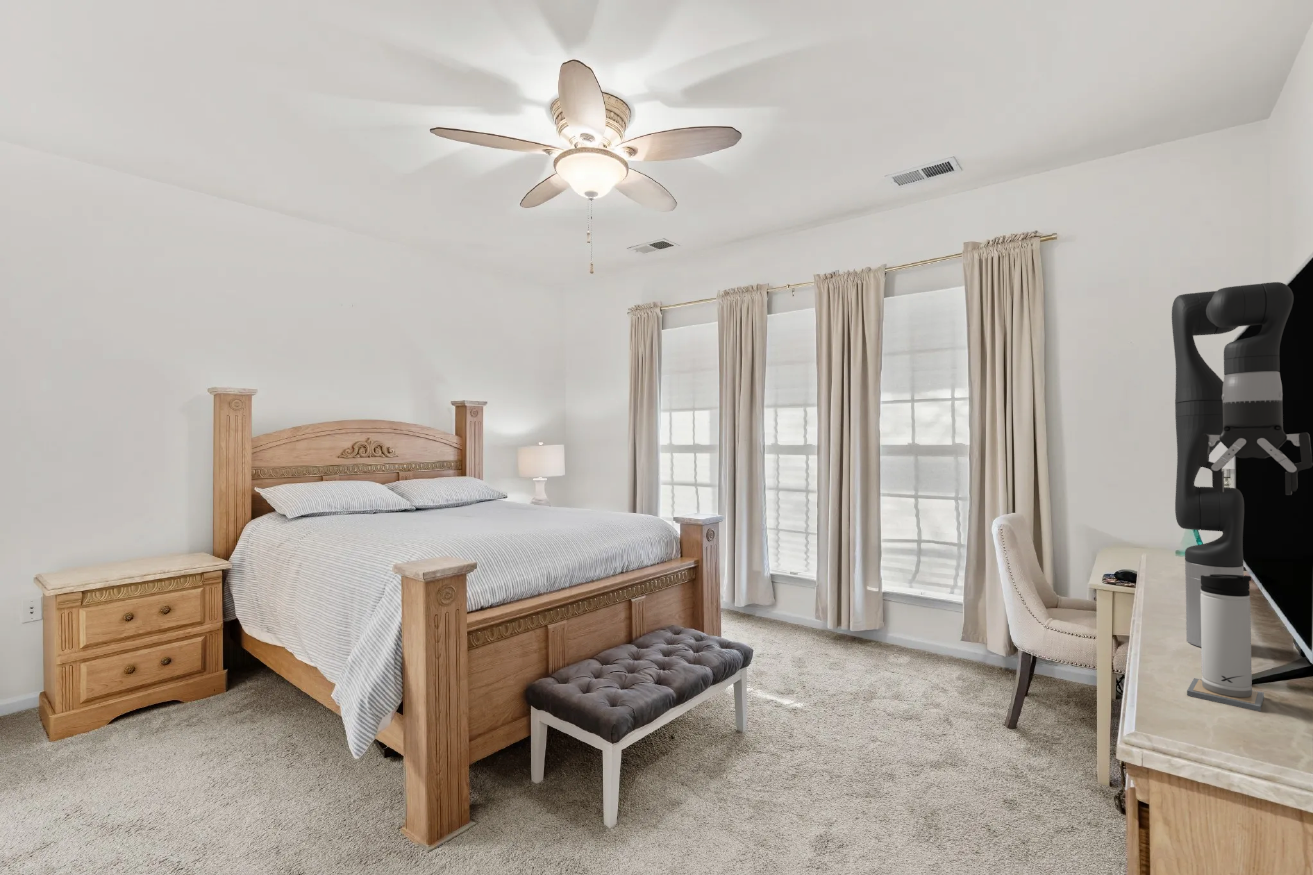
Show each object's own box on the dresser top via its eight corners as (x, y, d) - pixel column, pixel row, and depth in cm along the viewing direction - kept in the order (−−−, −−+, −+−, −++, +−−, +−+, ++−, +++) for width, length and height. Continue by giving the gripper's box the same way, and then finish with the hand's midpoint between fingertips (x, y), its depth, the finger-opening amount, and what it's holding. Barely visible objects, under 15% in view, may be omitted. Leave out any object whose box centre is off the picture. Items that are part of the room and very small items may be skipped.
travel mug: (1236, 700, 102) (1234, 578, 102) (1192, 685, 108) (1190, 570, 109) (1264, 696, 104) (1262, 575, 104) (1219, 681, 110) (1217, 567, 110)
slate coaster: (1194, 682, 112) (1194, 677, 112) (1264, 697, 106) (1263, 691, 106) (1187, 695, 107) (1186, 689, 107) (1260, 711, 100) (1260, 705, 100)
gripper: (1311, 398, 106) (1313, 494, 106) (1200, 402, 116) (1202, 490, 116) (1310, 396, 101) (1312, 497, 101) (1194, 401, 111) (1196, 492, 111)
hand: (1253, 493), depth 109 cm, fingers open, 8 cm apart
